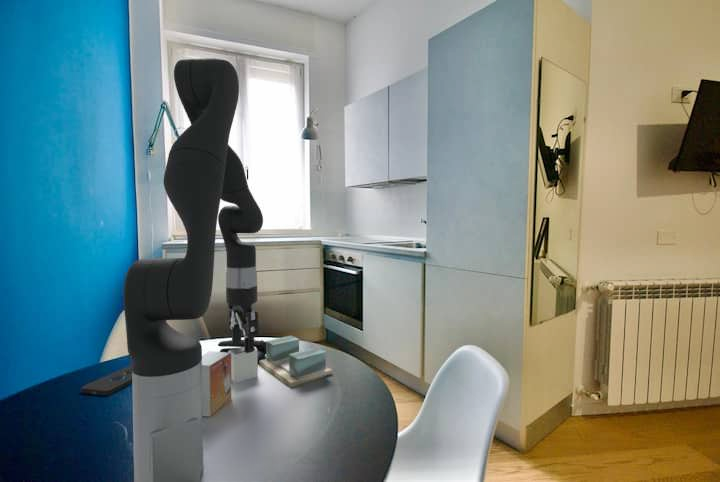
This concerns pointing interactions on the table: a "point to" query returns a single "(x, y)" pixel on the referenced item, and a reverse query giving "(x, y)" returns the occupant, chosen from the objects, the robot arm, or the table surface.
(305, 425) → the table surface
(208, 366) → the small box
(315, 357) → the rail board
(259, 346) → the can opener
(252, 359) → the block
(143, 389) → the robot arm
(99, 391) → the smart home device
